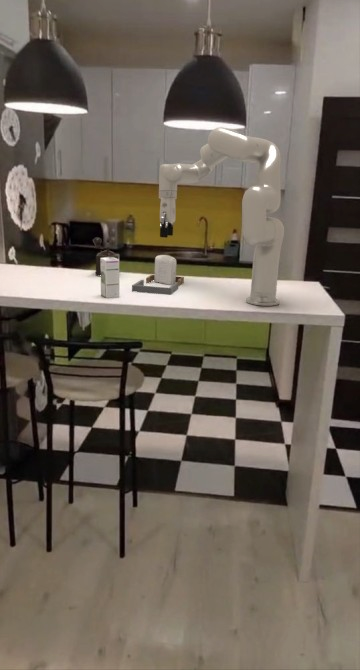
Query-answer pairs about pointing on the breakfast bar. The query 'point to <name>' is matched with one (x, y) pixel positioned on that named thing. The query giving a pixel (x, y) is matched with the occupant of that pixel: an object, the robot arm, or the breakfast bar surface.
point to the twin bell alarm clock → (102, 253)
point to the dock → (178, 279)
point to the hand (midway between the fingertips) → (166, 236)
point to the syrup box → (109, 277)
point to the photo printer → (165, 269)
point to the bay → (154, 288)
